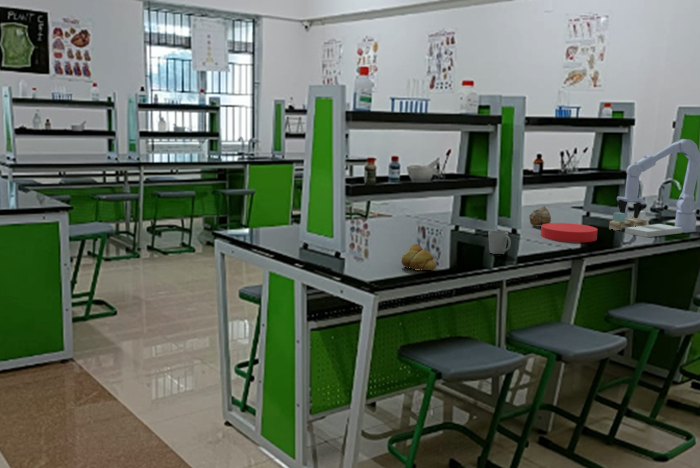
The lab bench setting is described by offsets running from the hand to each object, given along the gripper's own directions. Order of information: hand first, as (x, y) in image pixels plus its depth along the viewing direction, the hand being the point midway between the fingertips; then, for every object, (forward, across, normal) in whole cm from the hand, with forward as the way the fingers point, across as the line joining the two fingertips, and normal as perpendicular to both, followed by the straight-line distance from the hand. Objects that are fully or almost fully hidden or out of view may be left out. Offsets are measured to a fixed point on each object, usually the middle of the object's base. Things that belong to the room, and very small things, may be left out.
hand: (629, 216), depth 325 cm
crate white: (+2, 0, +8) cm, 8 cm away
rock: (+6, -23, -37) cm, 44 cm away
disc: (+6, +4, -47) cm, 48 cm away
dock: (+6, +14, 0) cm, 15 cm away
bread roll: (+6, +24, -146) cm, 148 cm away
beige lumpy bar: (+6, 0, 0) cm, 6 cm away
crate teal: (+2, 0, -7) cm, 8 cm away
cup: (+6, +18, -102) cm, 104 cm away
